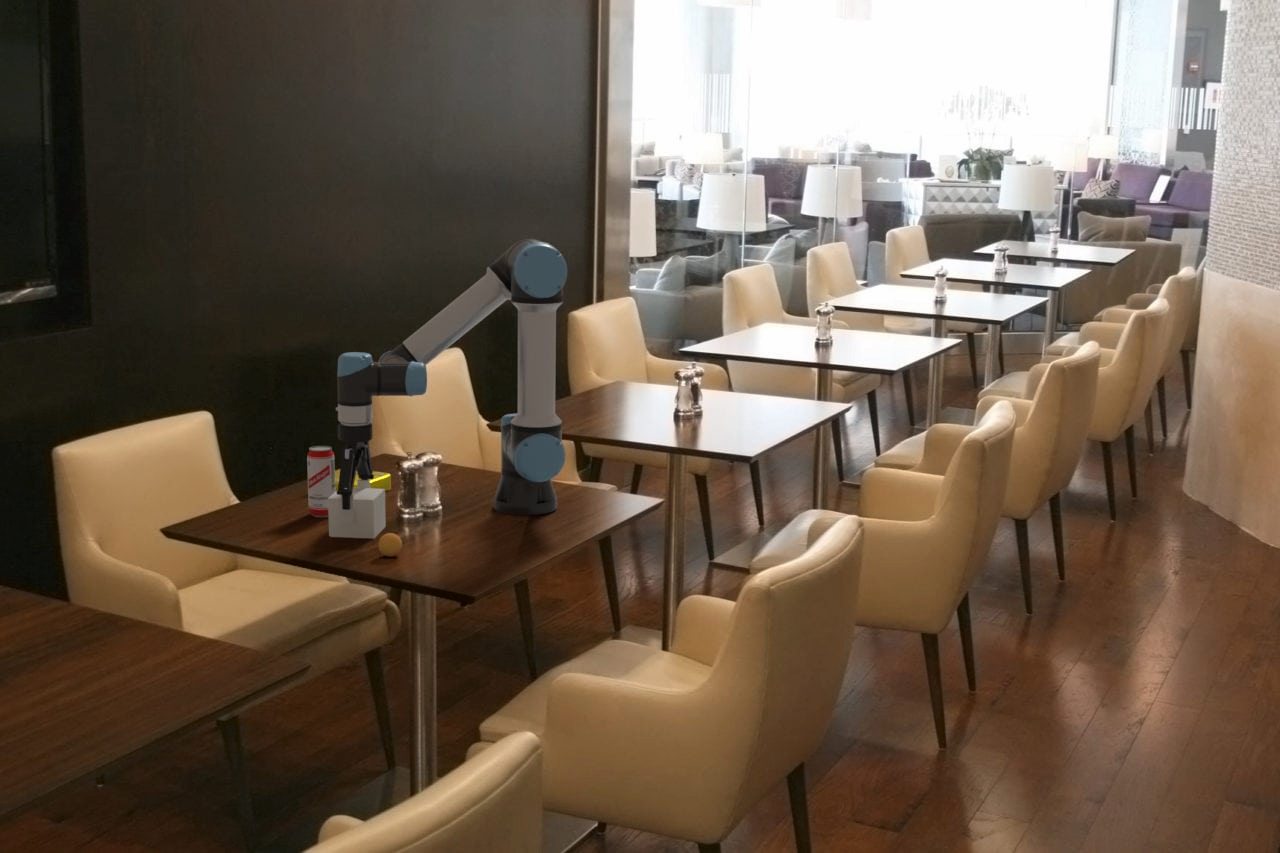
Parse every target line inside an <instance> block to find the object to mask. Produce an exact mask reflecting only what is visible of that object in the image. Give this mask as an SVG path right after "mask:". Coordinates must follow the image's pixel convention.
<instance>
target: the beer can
mask: <svg viewBox="0 0 1280 853" xmlns="http://www.w3.org/2000/svg"><path fill="white" fill-rule="evenodd" d="M308 449H309V450H308V451H309V452H308V453H307V457H306V463H307V464H306V465H307V500H308V501H307V502H308V513H309V514H310V515H311V516H312V517H313V516H314V517H313V518H329V515H328V498H329V497H330V496H331V495H333V494H334V493H335V471H336V467H335V462H336V461H335V453H334V451H333V450H332V449H333V448H332V446H329V445H315V446H314V445H313V446H311V447H309V448H308Z"/></svg>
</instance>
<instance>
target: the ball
mask: <svg viewBox="0 0 1280 853" xmlns="http://www.w3.org/2000/svg"><path fill="white" fill-rule="evenodd" d="M377 545H378V546H377V548H378V549H379V551H380V553H381V555H384V556H385V557H390V558H392V557H395V556H397V555H398V554H399V553H401V551H402V548H403V542H402V539H401V538H400V536H399V535H397V534H396V533H392V532H388V533H385V534H383V535H382V536H381V537H380V539H379V541H378V544H377Z"/></svg>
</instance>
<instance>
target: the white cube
mask: <svg viewBox="0 0 1280 853" xmlns="http://www.w3.org/2000/svg"><path fill="white" fill-rule="evenodd" d="M345 489H347V488H345ZM337 491H338V490H337ZM337 491H336V492H335V493H334V494H333V495H331V496H330V497H329V498H328V515H329V517H328V537H329V536H330V537H329V538H349V539H350V538H352V539H376V537H377V536H379V534H380V533H381V532H382V531H383V530H385V528H386V526H387V524H386V520H387V518H386V516H387V515H386V492H385V489H374V488H353V492H352V494H354V523H353V524H349V523H341V495H337Z"/></svg>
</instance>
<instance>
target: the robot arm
mask: <svg viewBox="0 0 1280 853" xmlns="http://www.w3.org/2000/svg"><path fill="white" fill-rule="evenodd" d="M567 277H568V266H567V263H566V260H565V258H564V256H563V254H562V253H561V252H560V251H559V250H558V249H557V248H556V247H555V246H553V245H552V244H550V243H548V242H544V241H542V240H540V239H536V238H526V239H525V238H524V239H522V240H519V241H517V242H516V243H514V244H513V245H511V246H510V247H509V248H508V249H507V250H506V251H504V253H503V254H501V255H500V256H499V257H498V258H497V259H495V261H494V262H493V263H491V264H490V265H489V266H488V267H486V273H485V275H483V276H482V277H481V278H480V279H479V280H477V281H476V282H475V283H474V284H473V285H471V286H470V287H469V288H467V290H465V291H464V292H462V294H460V295H459V296H458V297H457V298H455V299H454V300H453V301H451V302H450V303H449V304H448V305H447V306H445V307H444V308H443V309H442V310H440V312H439V311H438V313H437V314H436V315H434V316H433V317H432V318H430V320H428V321H427V322H426V323H425V324H423V325H422V326H421V327H420V328H419V329H417V330H416V331H415V332H413V333H412V334H411V335H410V336H408V337H407V338H406V339H405V340H403V342H402V343H400V344H399V345H397V346H396V347H394V349H393V350H389V351H386V352H384V353H382V355H381V357H379V360H378V362H376V361H374V360H373V357H372V355H371V353H367V352H359V351H358V352H357V351H353V352H352V351H351V352H344V353H342V354H340V355H339V357H338V359H337V372H336V373H337V374H336V375H337V378H336V380H337V407H336V406H335V411H336V412H337V420H338V421H339V423H338V424H337V439H338V440H339V441H341V442H345V444H346V446H345V447H346V448H345V449H343V448H342V449H341V462H340V468H339V469H340V476H339V484H338V491H337V495H341V523H349V524H353V523H354V494H352V492H353V486H354V481H355V476H356V471H357V473H358V476H359V479H358V480H357V488H370V480H368V479H373V478H374V475H372V473H373V471H374V470H373V465H372V458H371V453H370V443H369V442H370V441H371V440H372V439H373V424H372V423H371V422H372V421H374V420H373V397H389V396H390V397H391V396H393V397H399V396H401V397H405V396H409V397H413V396H414V397H415V396H423V395H424V394H426V392H427V388H428V373H427V372H428V371H427V365H428V364H430V363H431V362H432V361H433V360H435V359H436V358H437V357H438V356H439V355H441V354H442V353H443V352H444V351H445V350H447V349H448V348H449V347H450V346H452V345H453V344H455V342H456V341H458V340H460V338H461V337H463V336H464V335H465V334H467V333H468V332H469V331H470V330H471V329H473V328H474V327H475V326H476V325H478V324H479V323H480V322H482V321H483V320H484V319H485V318H486V317H488V316H489V315H490V314H491V313H493V312H494V311H495V310H496V309H497V308H498V307H500V306H501V305H502V304H504V303H505V302H506V301H508V300H509V301H511V304H512V305H513V306H515V308H516V309H517V412H516V413H508V414H505V415H503V416H502V417H501V420H500V424H501V425H500V431H501V432H500V438H501V439H500V440H501V441H500V449H501V450H500V451H501V452H500V457H501V458H500V459H501V460H500V462H501V463H500V468H501V469H500V470H501V472H500V474H501V475H500V479H499V483H498V485H497V489H496V492H495V495H494V498H493V508H494V510H495V511H497V512H500V513H501V514H507V515H514V516H515V515H516V516H536V515H537V516H538V515H543V514H548V513H552V512H554V511H555V510H557V509H558V497H557V495H556V491H555V488H554V485H553V481H552V479H554V478H555V477H557V476H558V475H559V474H560V472H562V470H563V468H564V465H565V463H566V459H567V458H566V456H567V455H566V451H565V450H566V449H565V446H564V444H563V443H562V442H563V440H562V438H563V437H562V436H563V434H562V432H563V431H562V430H563V429H562V428H563V426H562V425H563V423H562V422H563V420H562V419H560V417H559V416H558V415H557V414H556V377H557V376H556V371H557V369H556V362H557V359H556V358H557V354H556V353H557V352H556V351H557V350H556V349H557V348H556V347H557V346H556V345H557V342H556V341H557V310H558V308H559V307H560V306H562V304H563V303H564V286H565V284H566V281H567ZM360 479H361V480H360ZM345 488H347V489H345Z"/></svg>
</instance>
